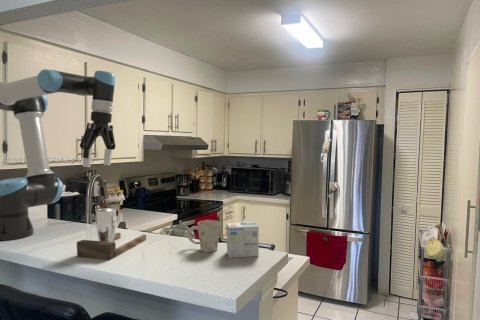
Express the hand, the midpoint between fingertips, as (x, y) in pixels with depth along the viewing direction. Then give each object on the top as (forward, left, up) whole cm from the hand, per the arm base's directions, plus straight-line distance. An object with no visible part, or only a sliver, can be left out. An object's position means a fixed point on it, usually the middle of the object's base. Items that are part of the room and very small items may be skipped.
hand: (97, 165), depth 139 cm
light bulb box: (+53, +28, -30) cm, 67 cm away
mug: (+39, +22, -30) cm, 53 cm away
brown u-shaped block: (+14, 0, -30) cm, 33 cm away
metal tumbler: (+16, -4, -30) cm, 34 cm away
